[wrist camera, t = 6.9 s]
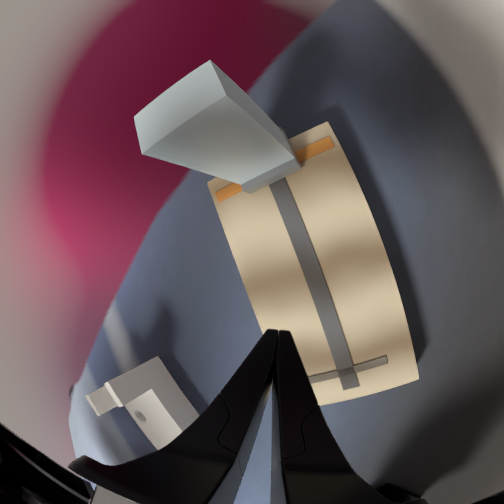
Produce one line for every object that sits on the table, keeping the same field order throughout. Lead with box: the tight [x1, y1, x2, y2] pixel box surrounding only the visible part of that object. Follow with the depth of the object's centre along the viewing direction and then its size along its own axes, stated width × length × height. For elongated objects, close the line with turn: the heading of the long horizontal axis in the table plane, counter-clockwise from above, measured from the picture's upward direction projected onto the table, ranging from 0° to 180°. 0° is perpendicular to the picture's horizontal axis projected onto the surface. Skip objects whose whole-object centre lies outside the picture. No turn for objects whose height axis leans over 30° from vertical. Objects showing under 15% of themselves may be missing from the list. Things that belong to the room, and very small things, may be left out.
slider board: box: [207, 121, 419, 406], centre depth 19 cm, size 19×10×2 cm, turn 22°
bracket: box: [85, 356, 200, 450], centre depth 24 cm, size 13×7×8 cm, turn 37°
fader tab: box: [134, 60, 302, 194], centre depth 14 cm, size 3×4×10 cm
